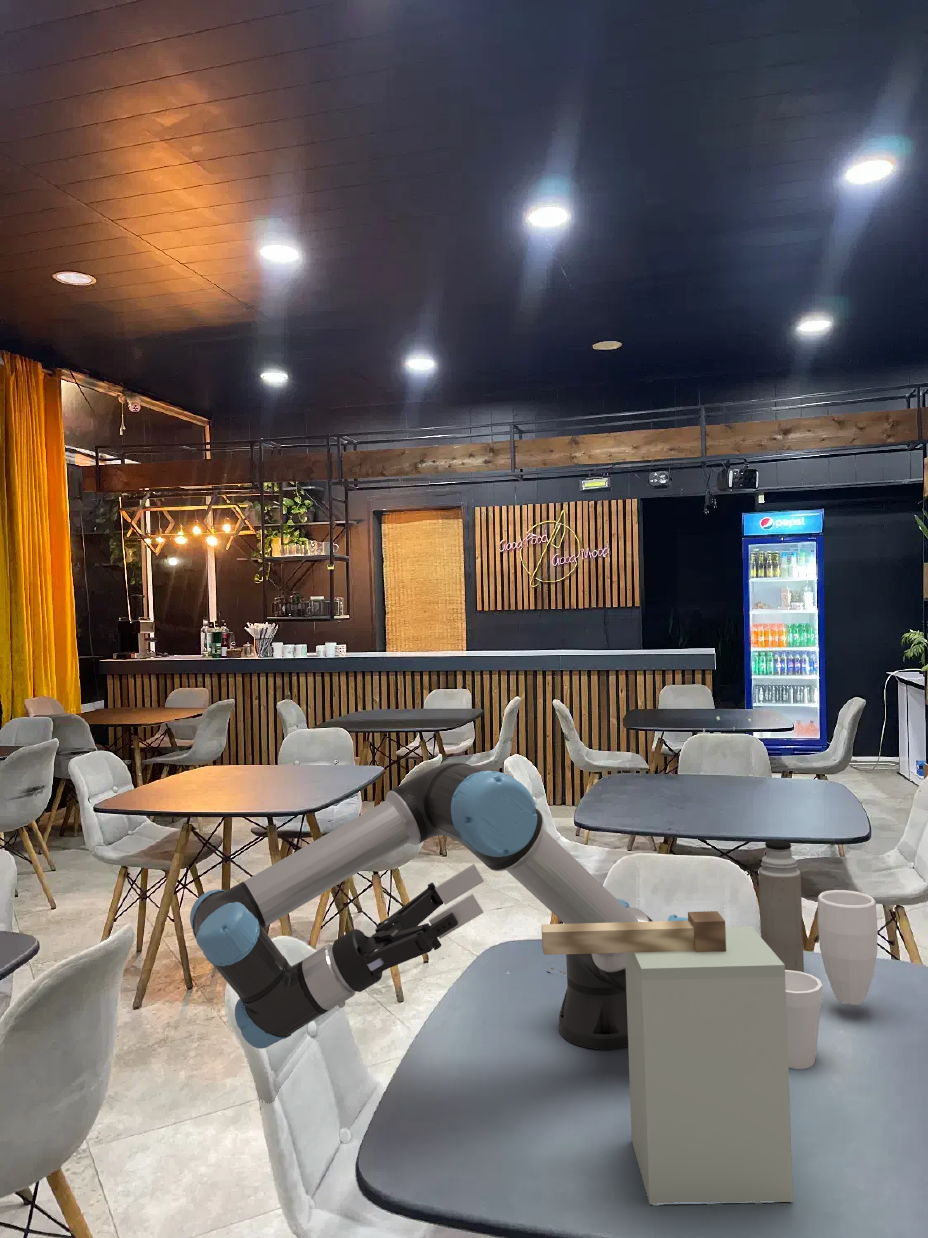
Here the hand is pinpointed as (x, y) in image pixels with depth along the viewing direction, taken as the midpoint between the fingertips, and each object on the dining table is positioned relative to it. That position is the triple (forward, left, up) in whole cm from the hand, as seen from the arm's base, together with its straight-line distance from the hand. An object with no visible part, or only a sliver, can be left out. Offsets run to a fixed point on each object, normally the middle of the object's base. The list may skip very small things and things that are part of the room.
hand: (478, 886), depth 120 cm
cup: (+15, +79, -39) cm, 89 cm away
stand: (+21, +21, -39) cm, 49 cm away
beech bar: (+14, +15, -9) cm, 22 cm away
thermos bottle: (-1, +85, -39) cm, 93 cm away
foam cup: (+15, +57, -39) cm, 71 cm away
